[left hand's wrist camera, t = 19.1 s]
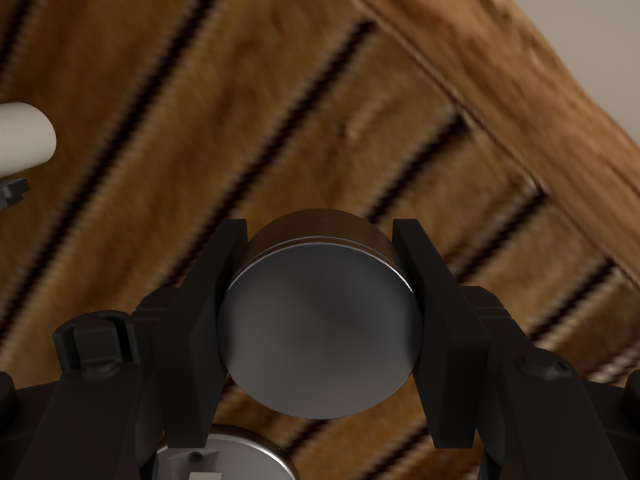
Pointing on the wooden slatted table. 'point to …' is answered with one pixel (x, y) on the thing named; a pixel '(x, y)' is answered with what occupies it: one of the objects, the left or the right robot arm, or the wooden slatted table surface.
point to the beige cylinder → (24, 138)
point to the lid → (319, 316)
